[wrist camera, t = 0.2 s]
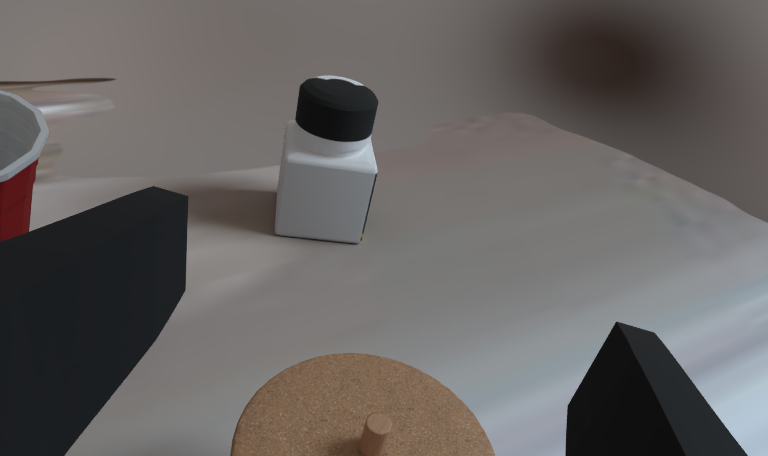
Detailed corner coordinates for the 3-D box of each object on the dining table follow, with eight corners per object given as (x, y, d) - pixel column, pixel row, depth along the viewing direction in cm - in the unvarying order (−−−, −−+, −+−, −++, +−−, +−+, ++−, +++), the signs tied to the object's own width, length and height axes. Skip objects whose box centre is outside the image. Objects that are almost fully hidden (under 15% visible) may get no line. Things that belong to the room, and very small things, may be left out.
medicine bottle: (361, 245, 49) (392, 110, 43) (273, 236, 47) (293, 95, 41) (354, 200, 55) (381, 76, 48) (276, 191, 53) (294, 61, 47)
